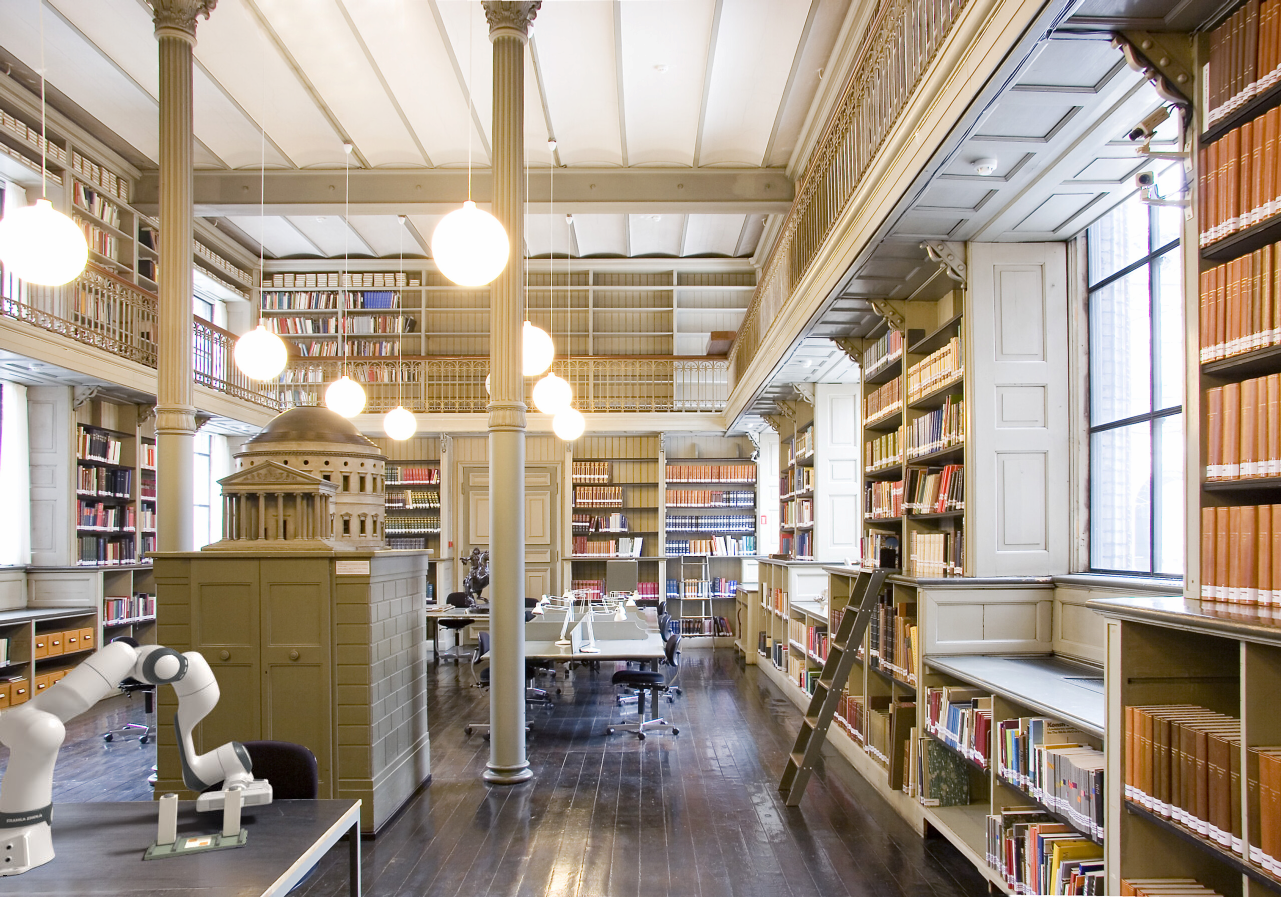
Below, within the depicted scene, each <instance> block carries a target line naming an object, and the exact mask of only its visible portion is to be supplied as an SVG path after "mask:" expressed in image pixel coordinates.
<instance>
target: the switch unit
mask: <svg viewBox="0 0 1281 897" xmlns="http://www.w3.org/2000/svg"><path fill="white" fill-rule="evenodd" d="M248 831H249V830H245V828H243V827H242V828H241V829H240V832H239V835H232V836H224V837H223V830H221V831H220V830H219V832H218V833H216V834H208V835H207V834H206V835H199V836H193V837H192V836H191V837H184V838H182V835H181V836H180V835H179V836H176V840H175V842H174V843H169V844H161V845H158V838H155V839H154V840H153V841H151V842H150V845H149V847H148V849H147V850H146V853H145V855H144V861H150V859H152V860H158V859H166V857H167V858H173V856H174V857H180V856H179V855H182V856H187V855H186V854H189V855H192V854H191V853H196V852H202V851H207V850H212V849H218V848H224V847H231V846H237V845H243V844H245V843H246V844H247V839H246V837H247V838H248Z"/></svg>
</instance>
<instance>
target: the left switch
mask: <svg viewBox="0 0 1281 897" xmlns="http://www.w3.org/2000/svg"><path fill="white" fill-rule="evenodd" d="M178 796H179V794H175V793H174V792H169V793H168V792H167V793H165V794H164V795H161V796H160V798H159V810H158V811H159V812H158V830H157V839H158V845H161V844H169V843H174V842H175V840H176V839H177V819H178V817H177V816H178V801H179V797H178Z"/></svg>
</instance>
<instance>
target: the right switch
mask: <svg viewBox="0 0 1281 897" xmlns="http://www.w3.org/2000/svg"><path fill="white" fill-rule="evenodd" d="M241 810H242V808H241V787H240V788H238V786H232V787H229V789H226V790H225V804H224V809H223V830H222V831H223V837H224V836H232V835H239V832H240V831H241V829H240V828H241Z"/></svg>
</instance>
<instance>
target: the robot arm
mask: <svg viewBox="0 0 1281 897" xmlns="http://www.w3.org/2000/svg"><path fill="white" fill-rule="evenodd" d="M128 678H130V679H132V680H133V681H134V680H135V681H138V682H141V683H142V684H145V685H146V684H147V685H155V686H164V685H167V684H171V686H172V687H173V689H174V692H175V694H176V696H177V699H178V708H177V711H175V713H174V715H173V727H174V732H175V733H174V734H175V739H176V744H177V749H178V753H179V758H180V764H181V769H182V770H181V771H182V779H183V780H182V781H183V783H184V785H185V787H186V788H187V790H190V791H192V792H197V793H198V792H199V793H200V792H203V791H205V790H206V789H208V788H210V787H211V786H212V785H215V784H217V783H219V782H221V781H223V780H224V782H223V785H222V789H221V790H218V791H209V792H204V793H202V794H200V795H199V796H198V797H197V798H196V807H195V808H196V809H195V810H196V812H199V813H200V812H201V813H202V812H209V811H210V812H211V811H217V810H224V804H225V790H226V789H229V787H232V786H238V788H240V787H241V809H242V808H244V807H245V808H247V807H251V806H252V807H255V806H261V805H262V806H263V805H269V804H272V802H273V787H272V785H271V784H269V780H268V779H267V778H266V779H265V778H264V779H263V778H254V775H253V773H252V768H253V763H252V758H251V755H250V752H249V751H248V748H247V747H246V746H245V745H244V744H243V743H241V742H238V741H235V740H232V741H230V742H228V743H226V744H223V745H221V746H219V747H217V748H214V749H213V750H211V751H209V752H207V753H204V754H202V755H197V754H196V751H195V747H194V741H193V737H192V731H193V730H194V728H195V727H196V725H198V723H199V722H201V721H202V719H204V718H205V717H206V716H207V715H209V713H211V712H212V710H213V709H214V708H215V706H216V705H217V703H218V702H219V699H220V695H221V694H220V692H221V691H220V688H219V685H218V681H217V680H216V677H215V674H214V672H213V671H212V669H211V667H210V665H209V664H208V662H207V661H206V659H205V658H204V657H203V654H201V653H199V652H197V651H186V652H183V653H180V652H179V651H177V650H175V649H174V648H170V647H165V646H163V645H159V644H141V645H138V646H134V647H133V646H131V645H130V644H128V643H126V642H124V641H112V642H111V643H109V644H107V645H105V646H103V647H102V648H100V649H99V650H97V651H96V652H94V653H92V654H91V655H90V656H88V657H86V659H85V660H83V661H82V662H80V663H79V664H78V665H76V667H74V668H73V669H72V670H71V671H69V672H68V673H67V674H66V675H65V676H63V677H62V678H60V679H59V680H58V681H57V682H56V683H54V684H53V685H51V686H50V687H48V688H47V689H45V690H43V691H42V692H40V693H38V694H37V695H35V696H34V697H32V698H30V699H29V700H27V701H25V702H23V704H21V705H19V706H18V707H16V708H14V709H12V710H10V711H7V713H5V714H4V715H3V716H2V717H1V718H0V742H1V744H2V745H3V746H5V747H6V748H9V751H10V752H9V758H8V762H7V765H6V770H5V773H4V774H3V775H2V778H1V785H0V877H4V876H3V875H7V876H13V875H21V874H23V873H26V872H27V871H29V870H31V869H34V868H37V867H40V866H42V865H44V864H46V863H48V862H51V861H52V860H54V858H56V853H55V849H54V846H53V841H52V832H51V831H52V830H51V827H52V826H51V825H52V823H53V818H54V816H53V815H54V806H53V805H54V802H53V801H52V796H53V794H52V791H53V782H54V781H53V780H54V772H55V770H54V769H55V767H56V766H55V765H56V762H57V759H58V756H59V751H60V748H61V746H62V745H63V743H64V741H65V738H66V727H65V725H64V724H66V723H67V722H69V721H70V720H72V719H73V718H75V717H77V716H79V715H82V714H84V713H85V712H87V711H89V709H91V708H92V707H93V706H94V705H95V704H97V703H98V702H99V701H100V700H101V699H103V697H105V696H106V695H107V694H108V693H110V692H111V691H112V690H113V689H114V688H115V687H116V686H118V684H119V683H121V682H122V681H124V680H125V679H128Z"/></svg>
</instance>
